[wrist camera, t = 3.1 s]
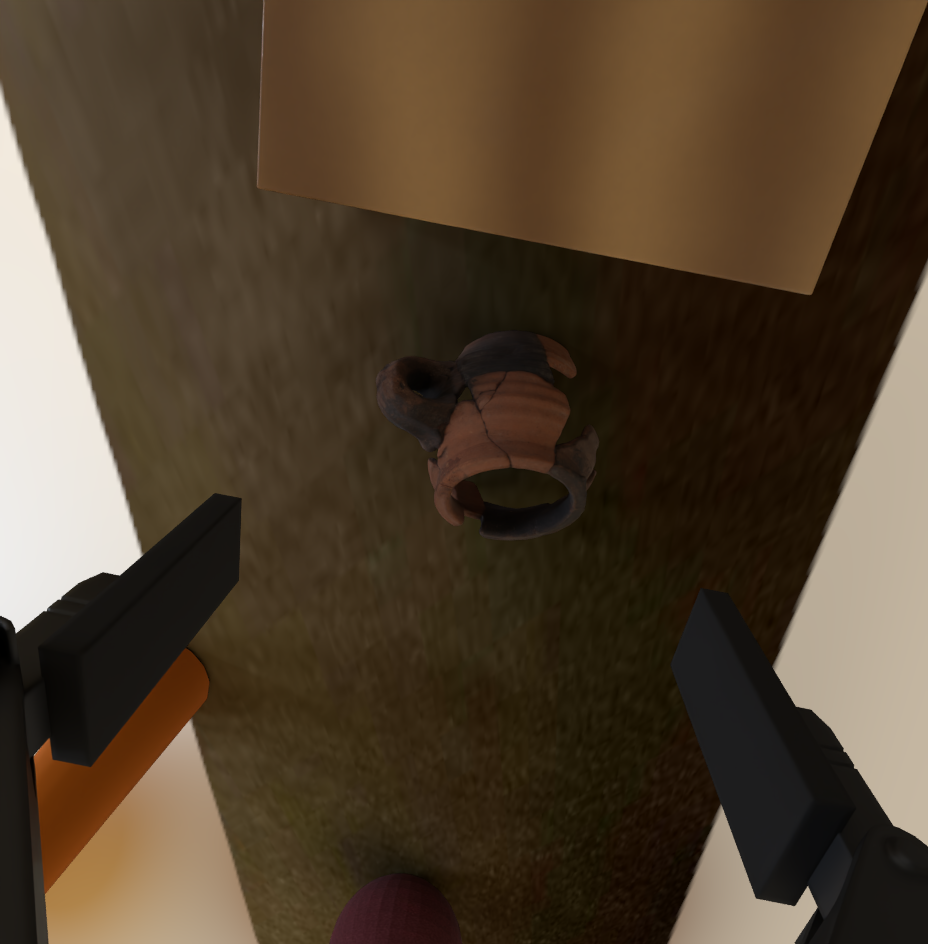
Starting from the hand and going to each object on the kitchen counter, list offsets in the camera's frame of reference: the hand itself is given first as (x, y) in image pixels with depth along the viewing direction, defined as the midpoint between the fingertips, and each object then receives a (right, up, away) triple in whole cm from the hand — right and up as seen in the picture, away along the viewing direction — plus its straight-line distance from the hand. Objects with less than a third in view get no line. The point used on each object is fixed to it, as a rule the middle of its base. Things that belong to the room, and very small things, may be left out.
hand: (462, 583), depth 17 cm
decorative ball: (-5, -31, +32) cm, 44 cm away
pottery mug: (+2, +7, +16) cm, 17 cm away
